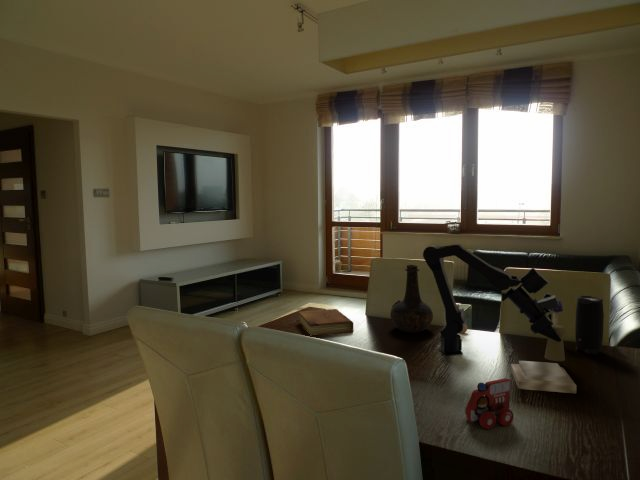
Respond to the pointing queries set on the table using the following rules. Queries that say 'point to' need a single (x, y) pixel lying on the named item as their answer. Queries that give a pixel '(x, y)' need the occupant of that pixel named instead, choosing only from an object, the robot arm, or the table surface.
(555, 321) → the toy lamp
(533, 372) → the stepped square base
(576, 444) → the table surface
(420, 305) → the glass bottle
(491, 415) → the toy fire truck
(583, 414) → the table surface
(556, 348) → the brown ball-topped peg
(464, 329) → the figurine
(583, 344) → the portable speaker
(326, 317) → the diary
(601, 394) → the table surface
